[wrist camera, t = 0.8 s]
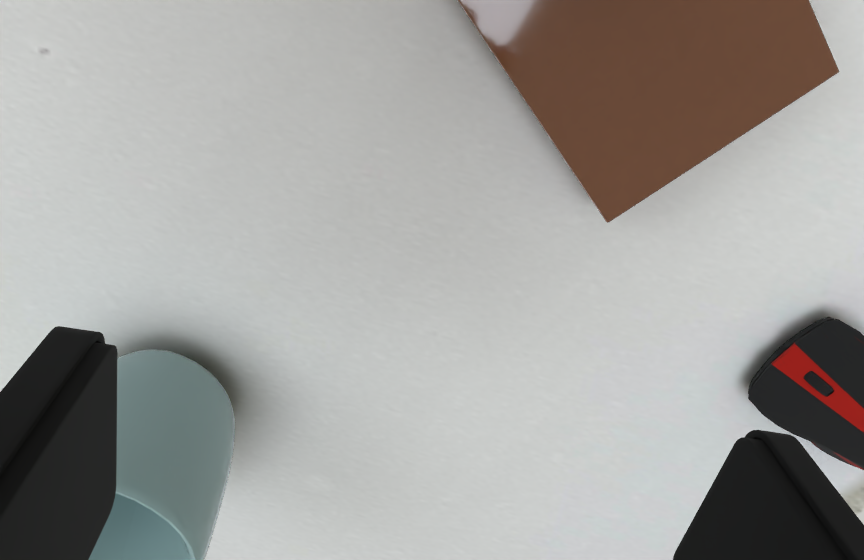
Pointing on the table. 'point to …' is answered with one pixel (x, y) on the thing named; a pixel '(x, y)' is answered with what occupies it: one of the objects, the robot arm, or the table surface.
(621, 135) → the brown mounting plate
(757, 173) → the table surface
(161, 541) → the cup
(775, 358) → the computer mouse
